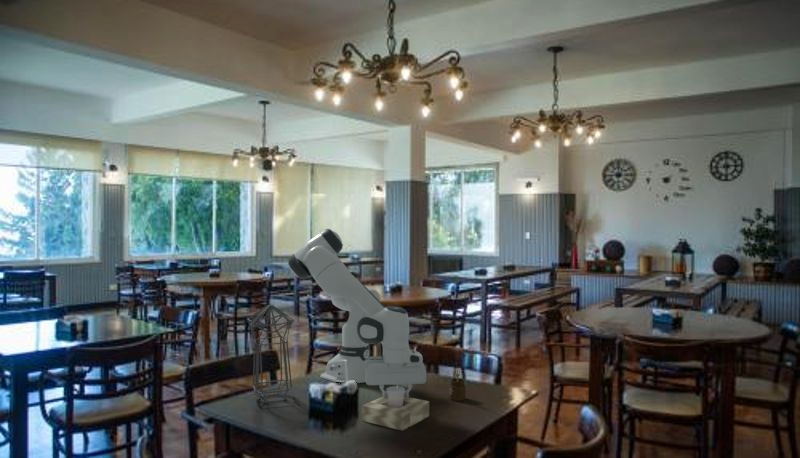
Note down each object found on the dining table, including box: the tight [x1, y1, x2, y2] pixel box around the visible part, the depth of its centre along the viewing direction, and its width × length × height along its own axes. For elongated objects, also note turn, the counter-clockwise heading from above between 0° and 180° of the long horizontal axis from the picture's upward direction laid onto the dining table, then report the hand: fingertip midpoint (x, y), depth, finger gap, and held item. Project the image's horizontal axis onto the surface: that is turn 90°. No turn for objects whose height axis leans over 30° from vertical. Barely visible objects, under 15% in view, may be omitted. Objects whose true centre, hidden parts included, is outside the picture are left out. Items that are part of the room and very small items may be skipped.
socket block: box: [361, 396, 430, 431], centre depth 186 cm, size 16×16×5 cm
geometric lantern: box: [245, 304, 295, 404], centre depth 206 cm, size 16×16×35 cm
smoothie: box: [385, 384, 406, 408], centre depth 186 cm, size 6×6×14 cm
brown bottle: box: [448, 367, 467, 402], centre depth 207 cm, size 6×6×12 cm
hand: (395, 397), depth 186 cm, fingers closed on smoothie, 6 cm apart
